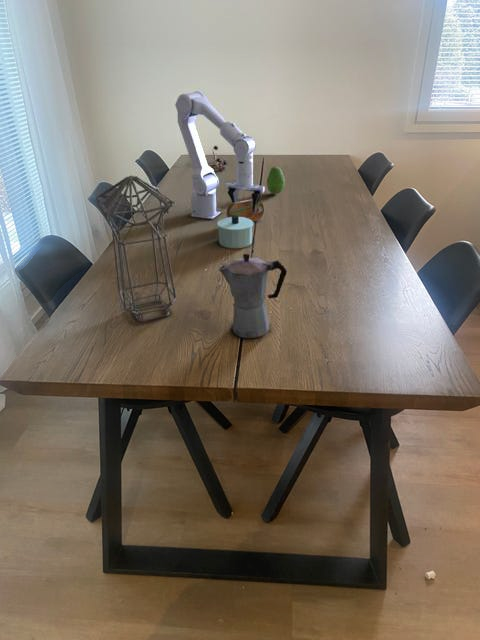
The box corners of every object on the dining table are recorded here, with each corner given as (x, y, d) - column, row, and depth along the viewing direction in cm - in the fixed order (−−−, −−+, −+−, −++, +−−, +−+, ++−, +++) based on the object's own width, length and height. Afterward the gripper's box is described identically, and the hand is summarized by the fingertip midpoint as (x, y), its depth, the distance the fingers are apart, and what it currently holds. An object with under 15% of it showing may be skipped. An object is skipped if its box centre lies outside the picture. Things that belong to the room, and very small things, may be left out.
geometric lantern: (126, 333, 110) (101, 190, 92) (114, 303, 123) (89, 171, 104) (187, 319, 116) (176, 180, 97) (170, 291, 128) (157, 164, 109)
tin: (229, 227, 170) (228, 205, 165) (225, 224, 172) (225, 202, 168) (264, 220, 176) (264, 198, 171) (260, 217, 178) (260, 196, 174)
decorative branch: (223, 161, 229) (209, 137, 250) (214, 176, 233) (200, 152, 254) (240, 170, 236) (225, 146, 256) (231, 185, 240) (217, 160, 260)
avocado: (264, 195, 202) (264, 167, 195) (269, 190, 208) (270, 163, 201) (281, 197, 199) (282, 169, 193) (286, 192, 205) (287, 164, 199)
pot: (213, 245, 155) (213, 227, 152) (227, 233, 164) (226, 216, 161) (244, 250, 152) (244, 232, 148) (256, 238, 160) (256, 220, 157)
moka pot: (220, 320, 115) (217, 246, 104) (280, 316, 116) (283, 244, 105) (221, 341, 107) (219, 264, 96) (286, 338, 108) (290, 261, 97)
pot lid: (211, 229, 152) (211, 220, 150) (226, 217, 161) (225, 208, 160) (245, 234, 148) (245, 225, 146) (258, 222, 158) (258, 213, 156)
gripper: (222, 174, 163) (223, 210, 171) (259, 177, 159) (259, 215, 166) (229, 169, 169) (230, 205, 176) (266, 172, 164) (266, 209, 171)
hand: (245, 209), depth 171 cm, fingers open, 7 cm apart
